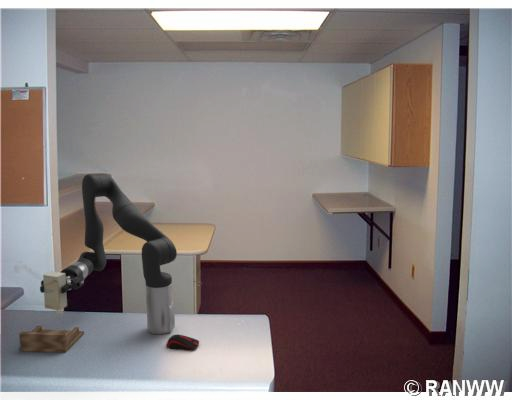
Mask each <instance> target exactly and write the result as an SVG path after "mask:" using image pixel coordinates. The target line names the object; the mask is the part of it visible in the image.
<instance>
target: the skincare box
mask: <svg viewBox="0 0 512 400" xmlns="http://www.w3.org/2000/svg"><path fill="white" fill-rule="evenodd" d="M60 272H61V271H53V270H51V271H49V272H47V273H43V275H42V277H43V279H42V280H43V281H44V293H43V296H44V297H43V298H44V309H48V310H54V311H61V310H62V309H65V308H66V307H68V298H67V292H65V293H64V294H63V293H61V287H62V286H64V285H65V284H66V274H65V273H60Z"/></svg>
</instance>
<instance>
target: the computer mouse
mask: <svg viewBox="0 0 512 400" xmlns="http://www.w3.org/2000/svg"><path fill="white" fill-rule="evenodd" d="M199 343H200V340H198V339H195V338H193V337H190V336H187V335H183V334H173V335H172V336H170V337H169V338H168V339H167V342H166V348H167V349H169V350H172V351H174V350H175V351H177V350H178V351H179V350H182V351H183V350H184V351H194V350H195V349H197V347H198V346H199Z"/></svg>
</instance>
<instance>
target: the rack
mask: <svg viewBox="0 0 512 400" xmlns="http://www.w3.org/2000/svg"><path fill="white" fill-rule="evenodd" d="M18 334H19V335H18V336H19V346H18V350H24V351H23V352H25V351H26V352H42V353H44V352H46V353H67V352H68V351H69V350H71V348H72V347H73V346H74V345H75V344H76V342H78V341H79V340H80V339H81V337H83V336H84V334H85V331H84V330H80V327H77V326H75V327H74V328H73V329H71V330H65V329H64V330H63V329H43V325H37V326H36V327H34V328H33V329H32V330H31V331H20V332H19V333H18Z"/></svg>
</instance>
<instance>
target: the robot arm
mask: <svg viewBox="0 0 512 400" xmlns="http://www.w3.org/2000/svg"><path fill="white" fill-rule="evenodd" d="M81 192H82V193H81V194H82V203H83V211H84V220H85V221H84V223H85V225H84V228H85V230H84V246H85V247H86V248H89V249H90V250H92V251H84V252H81V254H80V256H79V258H78V259H77V261H74V262H73V263H71V264H69V265H67V267H65V268H63V269H62V270H61V271H59V272H60V273H65V274H66V284H65V285H64V286H62V287H61V293H63V294H64V293H65V292H66V293H67V292H68V291H71V290H73V291H74V290H75V291H76V290H78V289H79V288H81V287H83V286H85V279H86V278H87V277H88V276H90V275H91V274H92V272H93V271H97V272H101V271H103V270H104V269H105V267H106V265H107V257H106V256H107V255H106V252H105V247H104V224H103V221H102V220H101V217H100V216H99V214H98V212H97V210H96V205H95V200H96V198H100V197H103V198H104V197H105V198H107V199H108V200H109V201H110V202H111V204H112V210H111V211H112V212H111V214H112V217H113V220H114V221H115V222H116V224H117V225H118V226H119V227H120V228H121V229H122V230H123V231H124V232H126V233H127V234H130V235H132V236H134V237H136V238H140V239H141V240H143V241H146V242H145V243H143V244H142V246H141V261H142V264H141V265H142V272H143V273H142V274H143V278H144V280H145V281H144V282H145V302H146V304H145V305H146V323H147V324H146V326H147V328H146V329H147V332H149V333H150V334H154V335H163V334H169V333H172V331H174V328H175V326H176V318H175V301H173V278H172V275H171V274H170V273H168V272H164V271H162V270H161V266H163V265H167V264H170V263H172V262H174V261H175V260H176V258H177V255H178V253H177V252H178V250H177V248H176V246H175V244H174V243H173V241H172V239H170V238H169V236H167V235H166V234H164V233H163V232H162V231H161V230H159V228H157V227H156V226H155V225H154V224H153V223H152V222H151V221H150V220H149V219H148V218H147V217H146V216H145V214H143V213H142V212H141V210H140V209H139V208H138V207H137V206H136V205H135V204H134V203H133V202H132V201H131V200H130V199H129V197H127V195H126V194H125V193H124V192H123V191H122V189H121V187H120V186H119V185H118V184H117V182H116V180H115V179H114V178H113V177H112V176H111V175H110V174H108V173H104V172H103V173H102V172H101V173H87V174H85V175H84V177H83V178H82V182H81ZM39 291H40V293H41V294H44V281H43V279H42V280H41V281H40V286H39Z"/></svg>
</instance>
